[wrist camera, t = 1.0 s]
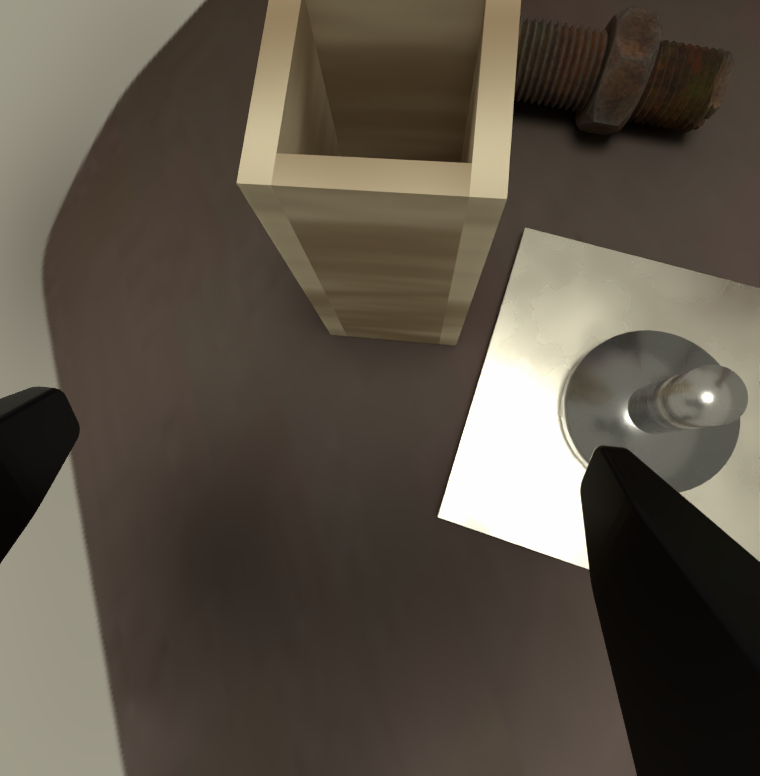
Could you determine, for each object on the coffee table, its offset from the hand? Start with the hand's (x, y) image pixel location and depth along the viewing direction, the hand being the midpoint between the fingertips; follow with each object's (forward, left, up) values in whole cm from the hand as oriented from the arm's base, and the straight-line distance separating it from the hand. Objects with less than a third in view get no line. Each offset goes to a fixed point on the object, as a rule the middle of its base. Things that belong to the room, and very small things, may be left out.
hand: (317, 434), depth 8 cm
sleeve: (+8, +2, -13) cm, 16 cm away
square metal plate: (+5, -10, -13) cm, 18 cm away
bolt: (+20, -2, -14) cm, 24 cm away
